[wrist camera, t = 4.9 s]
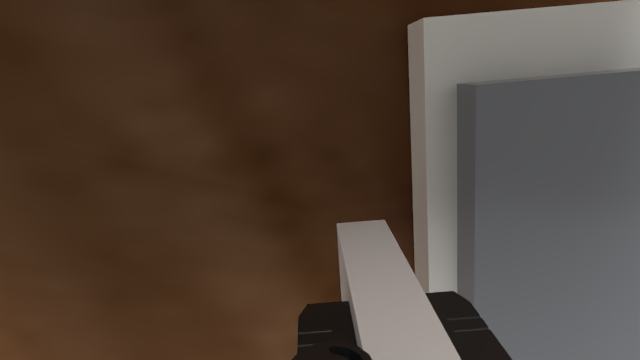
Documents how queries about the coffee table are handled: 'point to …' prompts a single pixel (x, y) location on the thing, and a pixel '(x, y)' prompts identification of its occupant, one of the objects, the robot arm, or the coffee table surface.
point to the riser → (487, 65)
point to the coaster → (552, 212)
